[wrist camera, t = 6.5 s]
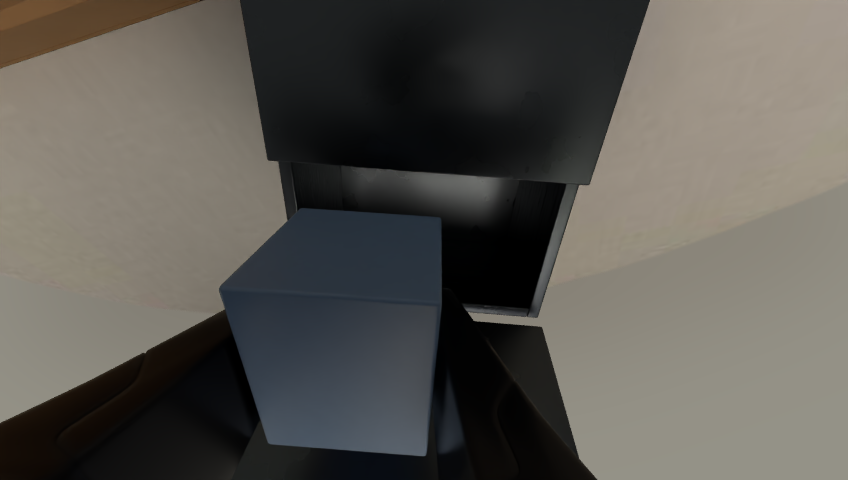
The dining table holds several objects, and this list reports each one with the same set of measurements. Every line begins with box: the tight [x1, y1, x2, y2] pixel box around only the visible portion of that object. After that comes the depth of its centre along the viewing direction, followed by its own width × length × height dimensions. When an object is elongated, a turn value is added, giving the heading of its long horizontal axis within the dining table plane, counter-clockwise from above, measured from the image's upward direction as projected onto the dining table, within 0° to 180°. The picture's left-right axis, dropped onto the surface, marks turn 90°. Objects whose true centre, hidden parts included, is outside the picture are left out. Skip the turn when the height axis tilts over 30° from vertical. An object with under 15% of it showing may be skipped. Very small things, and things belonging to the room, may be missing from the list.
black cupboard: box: [240, 0, 650, 318], centre depth 14 cm, size 13×11×7 cm
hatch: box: [231, 321, 579, 480], centre depth 11 cm, size 6×11×1 cm
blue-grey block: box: [219, 208, 442, 456], centre depth 7 cm, size 4×4×3 cm
